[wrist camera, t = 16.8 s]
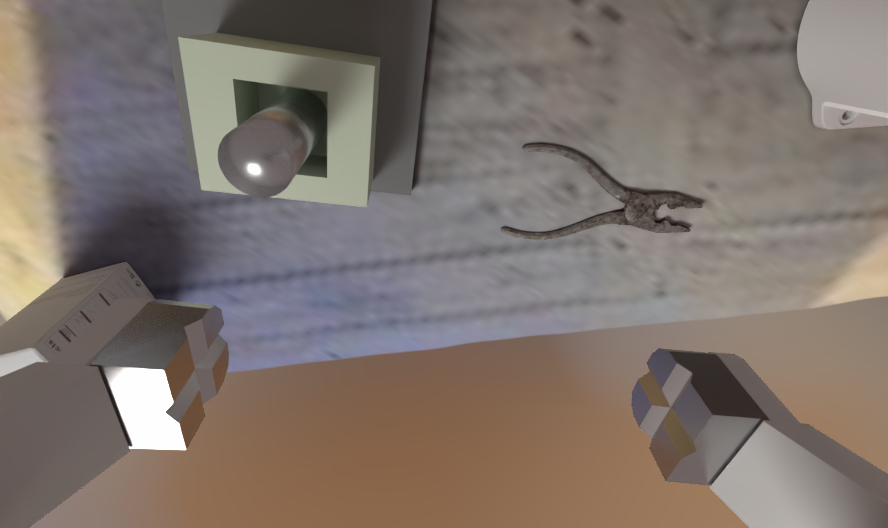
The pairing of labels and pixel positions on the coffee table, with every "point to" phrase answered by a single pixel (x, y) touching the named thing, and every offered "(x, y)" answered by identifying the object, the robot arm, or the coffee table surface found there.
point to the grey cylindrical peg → (273, 144)
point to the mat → (335, 28)
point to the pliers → (636, 203)
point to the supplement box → (64, 314)
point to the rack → (265, 80)
